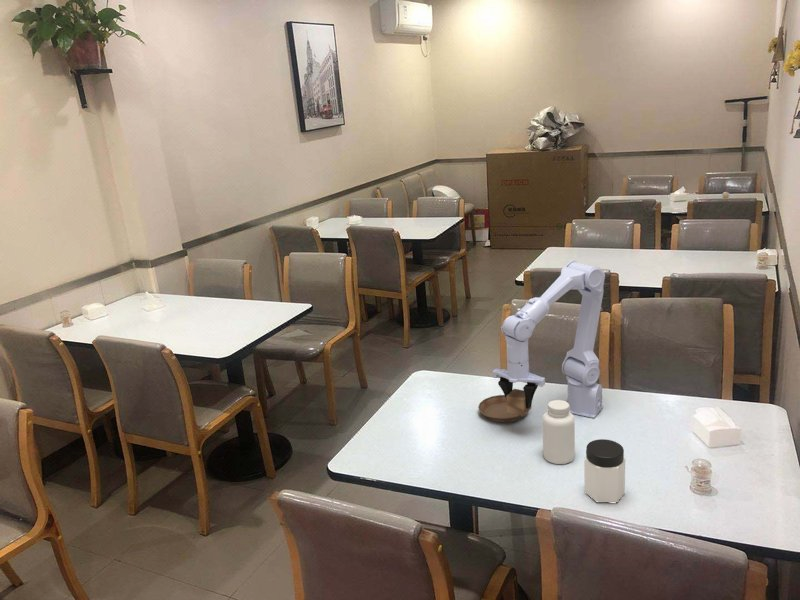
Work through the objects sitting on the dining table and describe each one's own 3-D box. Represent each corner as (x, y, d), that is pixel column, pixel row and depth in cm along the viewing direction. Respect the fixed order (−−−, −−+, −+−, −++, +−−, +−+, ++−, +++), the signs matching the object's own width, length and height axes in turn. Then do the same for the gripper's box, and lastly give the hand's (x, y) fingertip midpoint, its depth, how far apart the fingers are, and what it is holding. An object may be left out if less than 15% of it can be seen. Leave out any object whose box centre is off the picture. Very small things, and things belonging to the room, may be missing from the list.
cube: (531, 408, 175) (531, 392, 173) (523, 416, 171) (523, 399, 170) (514, 404, 178) (514, 388, 176) (507, 412, 174) (506, 396, 172)
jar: (595, 478, 153) (595, 434, 149) (628, 489, 147) (630, 444, 144) (579, 497, 146) (579, 451, 143) (613, 509, 141) (614, 462, 137)
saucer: (472, 422, 184) (472, 414, 183) (486, 400, 197) (486, 392, 196) (522, 429, 178) (522, 420, 177) (533, 405, 191) (533, 397, 190)
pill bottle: (575, 450, 165) (575, 398, 161) (573, 466, 158) (573, 413, 154) (544, 447, 168) (544, 396, 163) (541, 463, 161) (540, 410, 156)
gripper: (486, 360, 171) (488, 405, 175) (537, 369, 163) (538, 416, 167) (498, 351, 176) (500, 395, 180) (547, 359, 168) (548, 405, 172)
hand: (519, 404), depth 174 cm, fingers closed on cube, 5 cm apart
